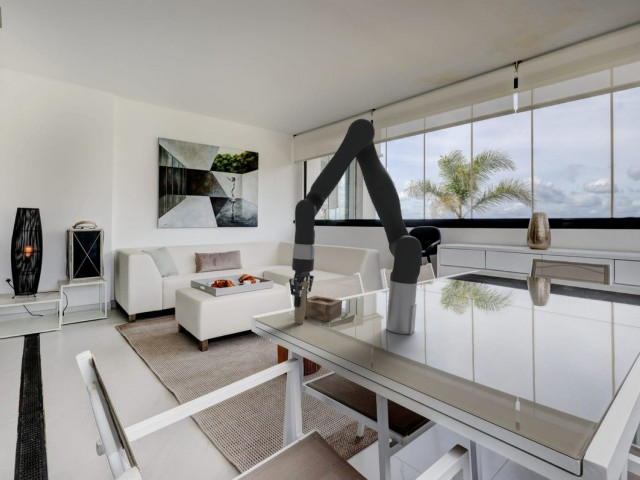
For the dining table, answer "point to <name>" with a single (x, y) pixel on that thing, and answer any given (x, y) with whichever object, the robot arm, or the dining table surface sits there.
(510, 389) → the dining table surface
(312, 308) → the brown wooden open box
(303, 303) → the handle
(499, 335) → the dining table surface
